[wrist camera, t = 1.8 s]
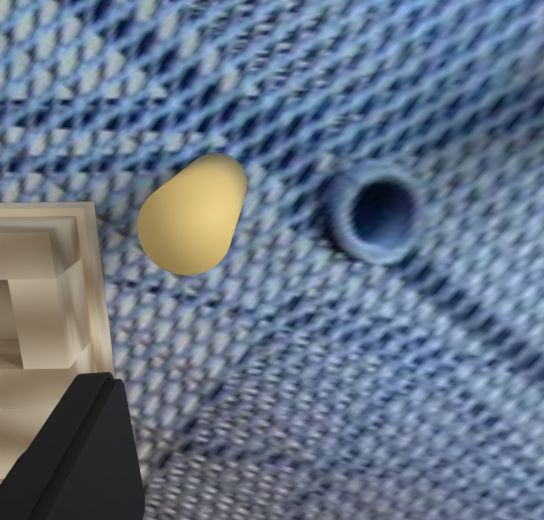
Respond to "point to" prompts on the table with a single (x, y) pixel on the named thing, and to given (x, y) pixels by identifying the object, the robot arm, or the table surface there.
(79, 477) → the robot arm
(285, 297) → the table surface
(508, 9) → the table surface
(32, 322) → the awning station
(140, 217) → the peg
